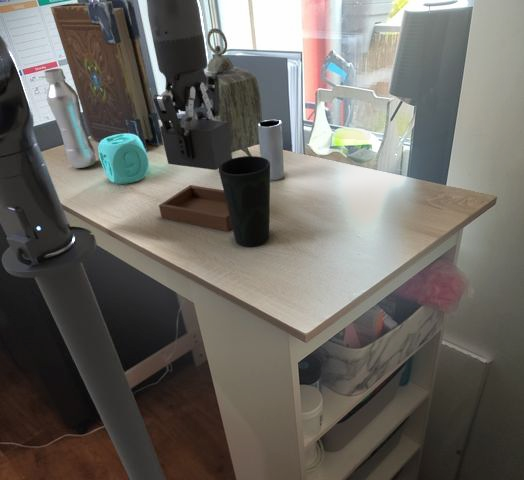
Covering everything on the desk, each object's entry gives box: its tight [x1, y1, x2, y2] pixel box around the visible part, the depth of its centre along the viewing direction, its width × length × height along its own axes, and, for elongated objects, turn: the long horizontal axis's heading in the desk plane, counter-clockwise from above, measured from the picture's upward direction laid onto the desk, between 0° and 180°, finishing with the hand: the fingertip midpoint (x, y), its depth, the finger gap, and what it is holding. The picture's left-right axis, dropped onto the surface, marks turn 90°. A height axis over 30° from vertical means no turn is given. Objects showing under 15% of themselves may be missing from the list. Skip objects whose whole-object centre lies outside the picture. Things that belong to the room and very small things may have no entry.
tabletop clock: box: [193, 27, 263, 156], centre depth 97 cm, size 14×9×25 cm, turn 34°
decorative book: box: [50, 0, 164, 152], centre depth 114 cm, size 23×7×30 cm, turn 50°
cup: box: [218, 155, 271, 248], centre depth 74 cm, size 8×8×12 cm
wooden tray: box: [158, 184, 233, 232], centre depth 86 cm, size 10×15×2 cm, turn 60°
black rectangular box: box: [160, 119, 233, 171], centre depth 78 cm, size 10×5×6 cm, turn 60°
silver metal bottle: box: [43, 68, 97, 169], centre depth 106 cm, size 6×7×20 cm
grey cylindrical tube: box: [258, 119, 285, 181], centre depth 94 cm, size 4×4×10 cm
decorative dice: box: [97, 133, 150, 185], centre depth 101 cm, size 8×8×8 cm
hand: (198, 152), depth 79 cm, fingers closed on black rectangular box, 5 cm apart
